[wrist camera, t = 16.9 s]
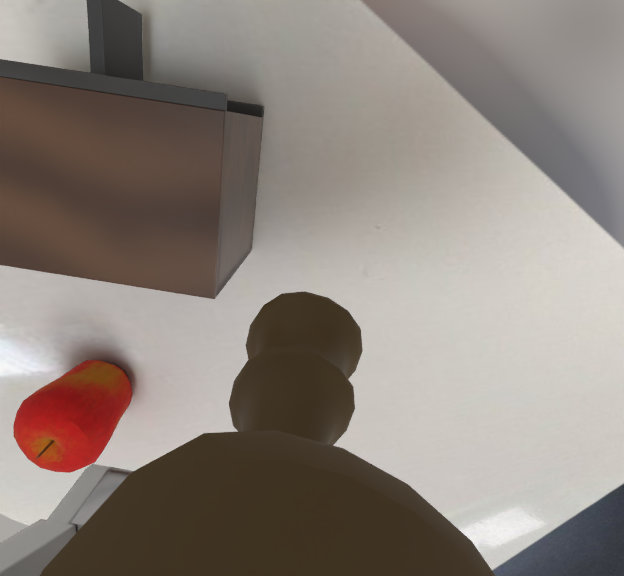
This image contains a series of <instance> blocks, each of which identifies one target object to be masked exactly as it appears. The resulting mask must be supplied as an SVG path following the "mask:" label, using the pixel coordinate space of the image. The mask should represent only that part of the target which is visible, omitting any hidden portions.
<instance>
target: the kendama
mask: <svg viewBox="0 0 624 576" xmlns="http://www.w3.org/2000/svg"><path fill="white" fill-rule="evenodd" d="M246 349H247V354H248V359H249V360H248V361H247V363H246V364H245V366H244V367H243V369H242V370H241V372H240V373H239V375H238V376H237V377H236V379H235V381H234V384H233V388H232V393H231V397H230V401H229V407H230V412H231V417H232V422H233V426H234V427H235V428H236V429H237V431H238V432H223V433H204V434H202V435H200V436H199V437H197V438H195V439H193V440H191V441H189V442H187V443H186V444H184V445H182V446H180V447H178V448H176V449H174V450H173V451H171V452H169V453H167V454H165V455H163V456H162V457H160V458H158V459H156V460H154V461H152V462H150V463H149V464H147V465H145V466H143V467H141V468H139V469H137V470H136V471H134V472H132V473H130V474H129V475H128V476H127V477H126V478H125V480H124V481H123V482H122V483H121V484H120V485H119V486H118V487H117V488H116V490H115V491H114V492H113V493H112V494H111V495H110V496H109V497H108V498H107V499H106V501H105V502H104V503H103V504H102V505H101V506H100V507H99V508H98V509H97V511H96V512H95V513H94V514H93V515H92V516H91V517H90V518H89V519H88V521H87V522H86V523H85V524H84V525H83V526H82V527H81V528H80V529H79V531H78V532H77V533H76V534H75V535H74V536H73V537H72V538H71V539H70V540H69V542H68V543H67V544H66V545H65V546H64V547H63V548H62V549H61V550H60V552H59V553H58V554H57V555H56V556H55V557H54V558H53V559H52V560H51V562H50V563H49V564H48V565H47V566H46V567H45V568H44V569H43V571H42V573H41V575H40V576H495V574H494V573H493V572H492V570H491V569H490V567H489V566H488V564H487V563H486V561H485V560H484V559H483V557H482V556H481V554H480V553H479V551H478V550H477V548H476V547H475V546H474V544H473V543H472V541H471V540H470V539H468V538H467V537H466V536H465V535H464V534H463V533H462V532H461V531H459V530H458V529H457V528H456V527H455V526H454V525H453V524H452V523H451V522H449V521H448V520H447V519H446V518H445V517H444V516H443V515H442V514H440V513H439V512H438V511H437V510H436V509H435V508H434V507H433V506H432V505H430V504H429V503H428V502H427V501H426V500H425V499H424V498H423V497H421V496H420V495H419V494H418V493H417V492H416V491H415V490H414V489H412V488H411V487H410V486H409V485H408V484H406V483H404V482H402V481H401V480H399V479H397V478H395V477H393V476H392V475H390V474H388V473H386V472H384V471H383V470H381V469H379V468H377V467H375V466H374V465H372V464H370V463H368V462H366V461H365V460H363V459H361V458H359V457H357V456H356V455H354V454H352V453H350V452H348V451H347V450H345V449H343V448H340V447H336V446H333V445H334V444H335V442H336V441H337V440H338V439H339V438H340V437H341V436H342V435H343V434H344V432H345V431H346V430H347V427H348V425H349V422H350V420H351V417H352V414H353V412H354V409H355V404H354V391H353V386H352V384H351V383H350V382H349V380H348V379H349V377H350V376H351V375H352V374H353V373H354V372H355V370H356V367H357V364H358V362H359V359H360V356H361V353H362V340H361V330H360V327H359V326H358V324H357V323H356V322H355V320H354V319H353V317H352V316H351V315H350V313H349V312H348V310H346V309H344V308H343V307H341V306H340V305H338V304H337V303H335V302H334V301H332V300H331V299H329V298H327V297H323V296H319V295H316V294H312V293H308V292H295V293H285V294H281V295H279V296H278V297H276V298H275V299H273V300H271V301H270V302H268V303H267V304H265V305H264V306H263V307H262V309H261V310H260V312H259V313H258V315H257V316H256V318H255V319H254V321H253V322H252V324H251V325H250V329H249V334H248V338H247V342H246Z"/></svg>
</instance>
